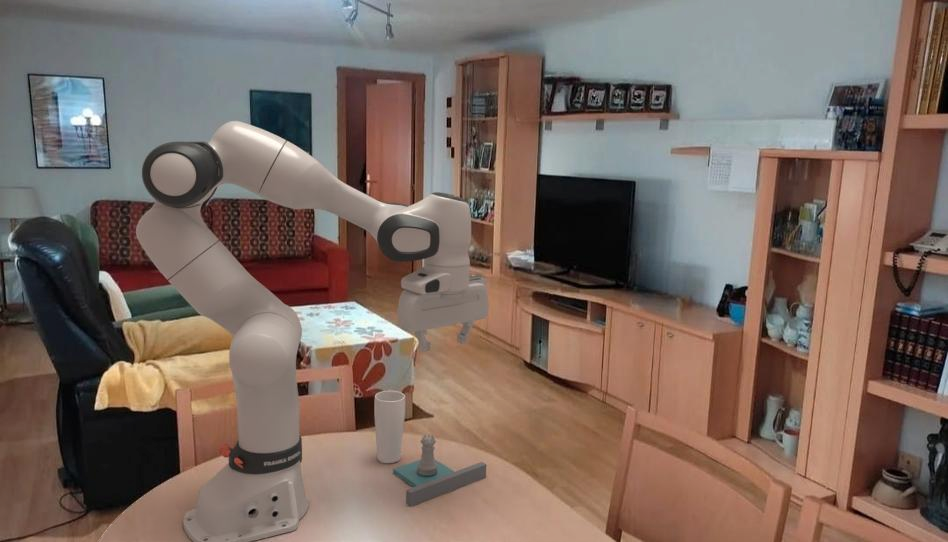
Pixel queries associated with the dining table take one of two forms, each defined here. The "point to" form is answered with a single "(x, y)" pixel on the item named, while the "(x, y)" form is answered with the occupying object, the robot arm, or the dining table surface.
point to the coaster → (413, 477)
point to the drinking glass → (389, 425)
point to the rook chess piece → (427, 457)
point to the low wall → (445, 484)
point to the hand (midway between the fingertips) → (443, 346)
